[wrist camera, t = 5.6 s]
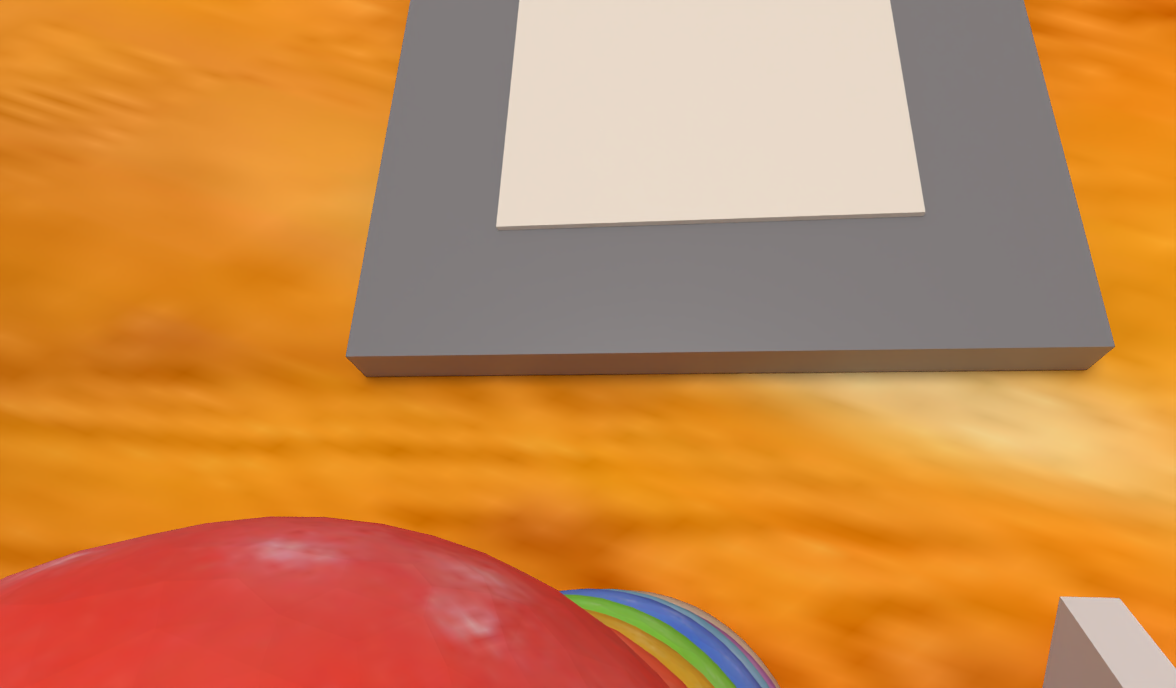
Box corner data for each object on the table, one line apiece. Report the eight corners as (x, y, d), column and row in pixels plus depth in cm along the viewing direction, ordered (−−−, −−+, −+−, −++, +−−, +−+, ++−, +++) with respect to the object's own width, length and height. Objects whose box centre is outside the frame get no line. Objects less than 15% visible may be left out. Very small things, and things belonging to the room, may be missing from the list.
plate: (365, 376, 23) (342, 353, 21) (443, -84, 31) (430, -124, 30) (1086, 369, 20) (1119, 343, 19) (965, -129, 29) (980, -176, 27)
